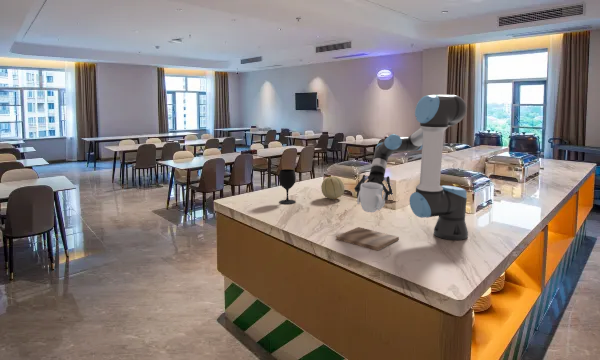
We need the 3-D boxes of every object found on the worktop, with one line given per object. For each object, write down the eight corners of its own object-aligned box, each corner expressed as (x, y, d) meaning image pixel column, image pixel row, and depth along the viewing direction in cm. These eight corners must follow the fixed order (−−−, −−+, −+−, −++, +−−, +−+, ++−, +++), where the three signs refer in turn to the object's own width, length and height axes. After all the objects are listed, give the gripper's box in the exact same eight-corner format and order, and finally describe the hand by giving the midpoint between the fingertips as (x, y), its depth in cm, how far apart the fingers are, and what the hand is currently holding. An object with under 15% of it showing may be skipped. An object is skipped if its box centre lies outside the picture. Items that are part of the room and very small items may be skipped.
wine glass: (276, 203, 258) (276, 171, 254) (282, 199, 268) (281, 168, 264) (292, 204, 255) (292, 172, 252) (298, 200, 265) (297, 169, 261)
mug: (389, 215, 208) (392, 190, 204) (371, 218, 204) (373, 193, 200) (372, 204, 221) (374, 181, 217) (354, 207, 217) (356, 183, 213)
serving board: (398, 239, 193) (398, 236, 193) (377, 250, 180) (377, 247, 180) (358, 230, 208) (358, 227, 207) (336, 239, 194) (336, 236, 194)
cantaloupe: (343, 202, 261) (343, 178, 258) (319, 201, 264) (319, 177, 261) (345, 196, 275) (345, 174, 272) (323, 195, 278) (323, 173, 275)
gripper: (402, 174, 219) (395, 210, 208) (357, 171, 228) (348, 205, 218) (400, 165, 213) (393, 202, 202) (354, 163, 223) (345, 198, 212)
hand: (370, 204), depth 210 cm, fingers closed on mug, 12 cm apart
